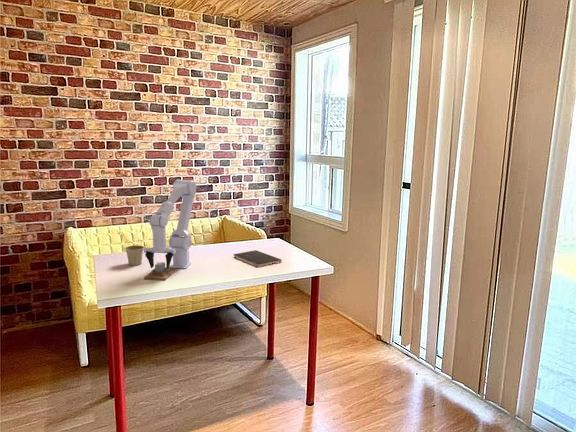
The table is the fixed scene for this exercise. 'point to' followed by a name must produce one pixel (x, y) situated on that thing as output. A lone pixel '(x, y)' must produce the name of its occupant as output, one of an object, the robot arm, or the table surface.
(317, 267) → the table surface
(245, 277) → the table surface
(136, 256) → the flower pot
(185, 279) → the table surface
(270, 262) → the hardcover book
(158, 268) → the servo block
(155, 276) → the chassis board
